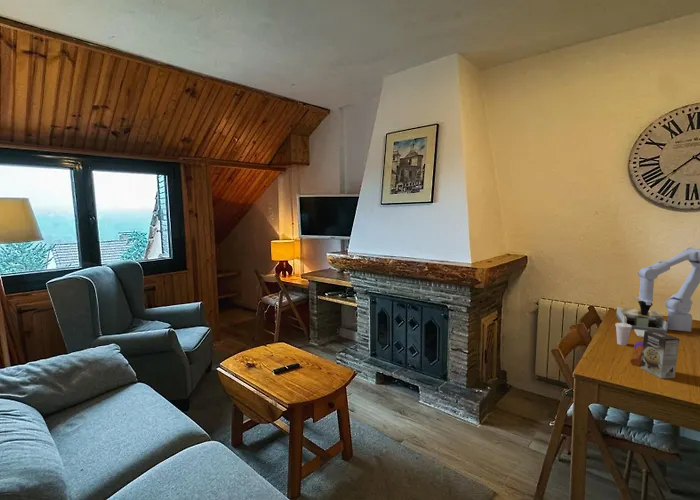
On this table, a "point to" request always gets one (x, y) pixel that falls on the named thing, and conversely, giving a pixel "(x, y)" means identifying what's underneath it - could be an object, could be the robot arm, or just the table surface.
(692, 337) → the table surface
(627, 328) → the smoothie
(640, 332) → the tile
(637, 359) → the kendama
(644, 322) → the block
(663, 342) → the grey cardboard box
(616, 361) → the table surface
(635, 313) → the lid
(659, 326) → the grey shallow open box
